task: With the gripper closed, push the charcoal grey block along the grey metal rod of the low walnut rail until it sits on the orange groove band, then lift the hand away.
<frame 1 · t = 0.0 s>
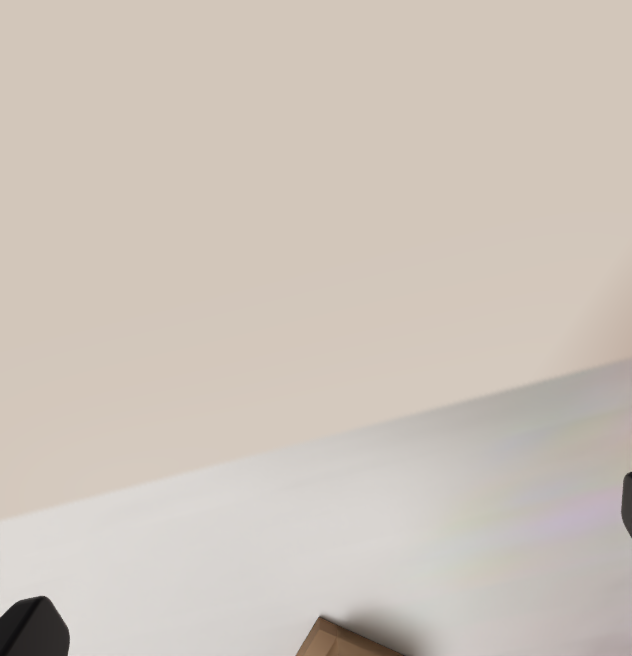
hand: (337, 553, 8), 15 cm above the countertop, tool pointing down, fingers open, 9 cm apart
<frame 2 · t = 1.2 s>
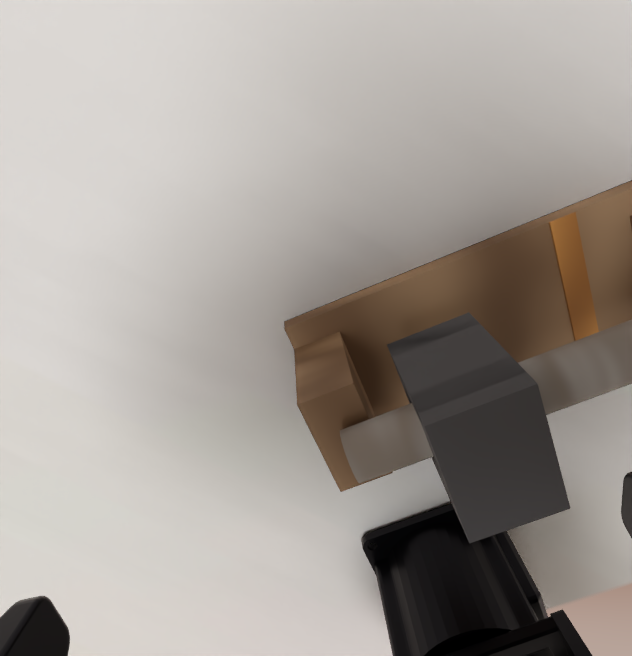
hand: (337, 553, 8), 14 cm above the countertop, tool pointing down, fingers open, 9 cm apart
rail: (485, 311, 21), on the countertop
charcoal grey block: (469, 418, 16), point 6 cm above the countertop, slide at -3.0 cm
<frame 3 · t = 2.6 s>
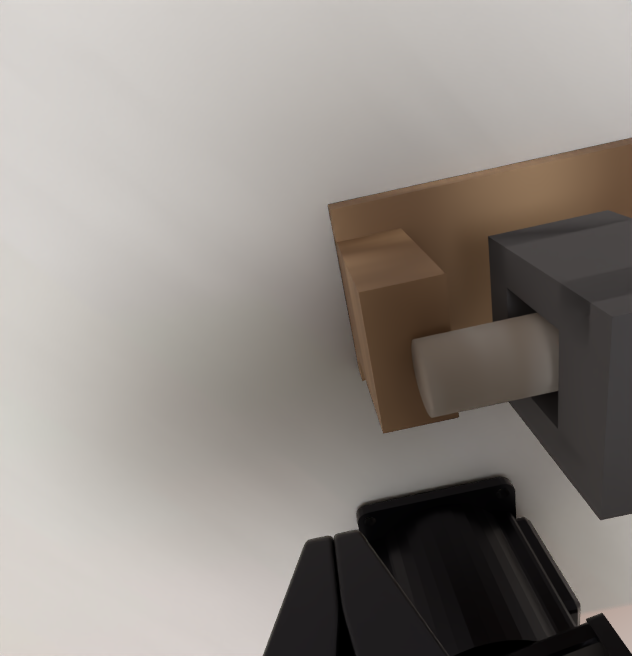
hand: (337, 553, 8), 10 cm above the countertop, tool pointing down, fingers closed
rail: (579, 242, 17), on the countertop
charcoal grey block: (604, 346, 11), point 6 cm above the countertop, slide at -3.0 cm
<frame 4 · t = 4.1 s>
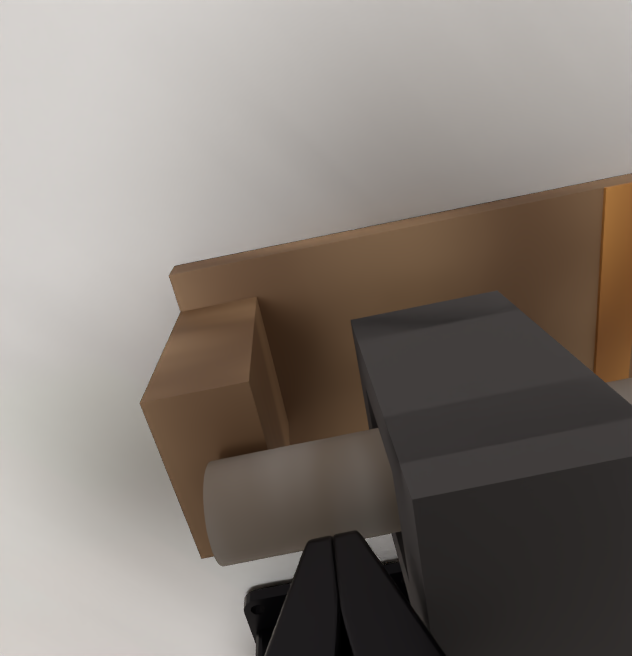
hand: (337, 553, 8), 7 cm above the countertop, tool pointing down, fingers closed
rail: (478, 309, 14), on the countertop
charcoal grey block: (474, 473, 9), point 6 cm above the countertop, slide at -2.4 cm, touching gripper
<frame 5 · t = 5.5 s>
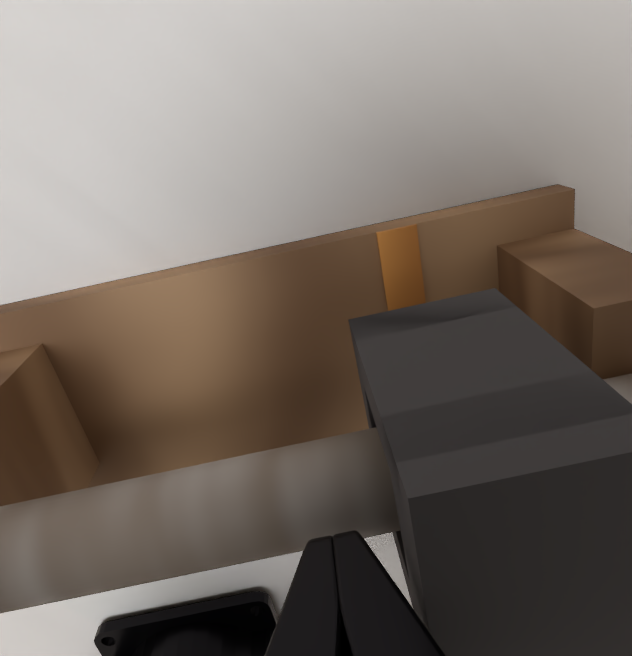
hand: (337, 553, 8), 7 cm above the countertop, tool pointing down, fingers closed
rail: (284, 348, 14), on the countertop
charcoal grey block: (473, 471, 9), point 6 cm above the countertop, slide at 3.3 cm, touching gripper
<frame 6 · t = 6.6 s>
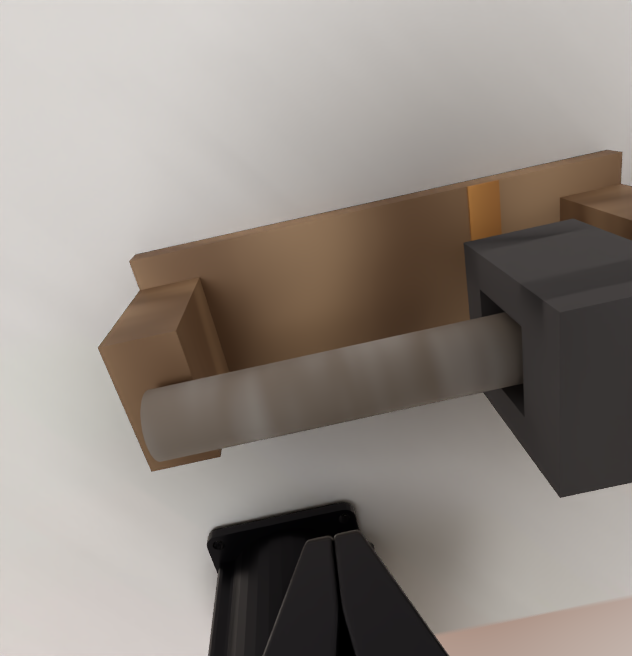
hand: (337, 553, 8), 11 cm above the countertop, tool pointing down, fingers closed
rail: (382, 286, 18), on the countertop
charcoal grey block: (567, 342, 12), point 6 cm above the countertop, slide at 3.3 cm
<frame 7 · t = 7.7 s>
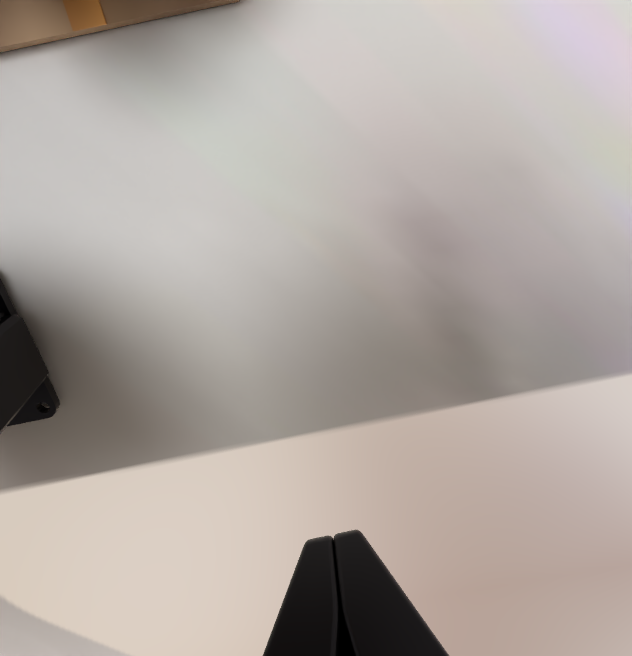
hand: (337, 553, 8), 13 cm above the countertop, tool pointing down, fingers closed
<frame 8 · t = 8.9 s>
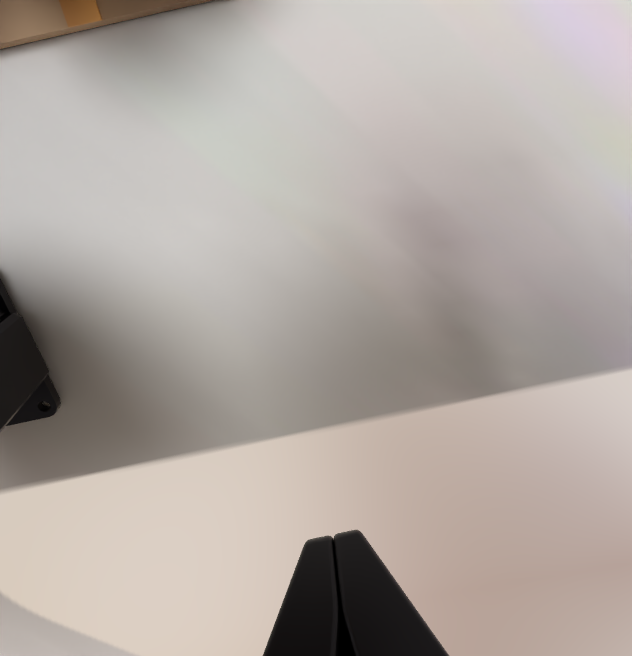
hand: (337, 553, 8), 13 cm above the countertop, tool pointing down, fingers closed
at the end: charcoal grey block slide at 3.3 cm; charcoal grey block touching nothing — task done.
